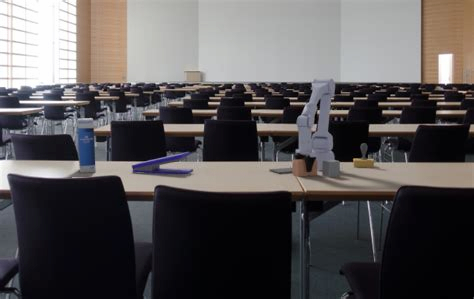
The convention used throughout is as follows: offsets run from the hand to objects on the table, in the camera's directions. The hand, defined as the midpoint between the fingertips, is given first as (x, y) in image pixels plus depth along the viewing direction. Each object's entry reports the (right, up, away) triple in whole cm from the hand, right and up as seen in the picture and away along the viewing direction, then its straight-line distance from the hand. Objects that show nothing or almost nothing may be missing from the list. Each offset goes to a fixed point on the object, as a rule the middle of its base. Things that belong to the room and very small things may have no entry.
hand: (304, 170), depth 245 cm
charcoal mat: (-8, -1, +10) cm, 13 cm away
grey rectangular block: (+11, -2, -4) cm, 12 cm away
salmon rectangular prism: (0, -2, 0) cm, 2 cm away
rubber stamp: (+33, +1, +23) cm, 40 cm away
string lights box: (-106, -1, +18) cm, 107 cm away
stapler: (-68, -2, +13) cm, 69 cm away
